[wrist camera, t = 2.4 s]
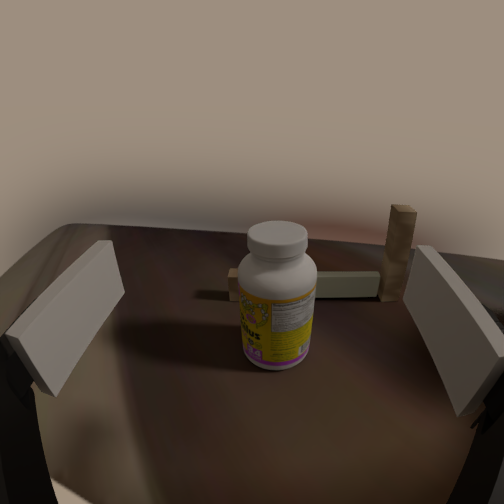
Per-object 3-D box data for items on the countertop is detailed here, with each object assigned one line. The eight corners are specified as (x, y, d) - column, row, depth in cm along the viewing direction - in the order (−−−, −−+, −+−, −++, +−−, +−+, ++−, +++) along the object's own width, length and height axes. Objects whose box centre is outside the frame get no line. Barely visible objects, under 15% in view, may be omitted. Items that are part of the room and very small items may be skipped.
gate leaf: (372, 287, 37) (375, 267, 36) (376, 296, 35) (380, 276, 34) (250, 287, 38) (249, 267, 37) (248, 297, 36) (247, 276, 35)
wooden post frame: (392, 290, 37) (409, 205, 31) (397, 301, 34) (417, 212, 29) (232, 291, 38) (225, 201, 33) (229, 302, 36) (221, 208, 31)
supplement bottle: (237, 333, 31) (228, 220, 25) (296, 322, 32) (301, 212, 27) (250, 379, 25) (243, 255, 19) (318, 364, 27) (335, 243, 21)
